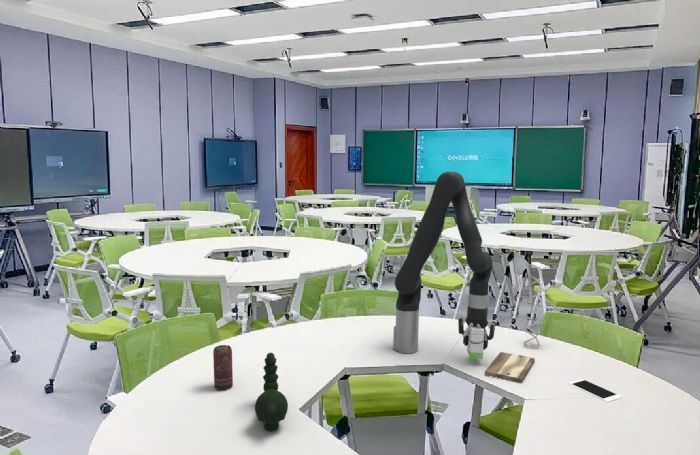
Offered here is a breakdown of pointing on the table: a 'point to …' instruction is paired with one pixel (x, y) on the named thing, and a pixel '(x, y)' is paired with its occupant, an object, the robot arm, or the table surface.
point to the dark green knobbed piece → (271, 398)
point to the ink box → (475, 343)
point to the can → (223, 367)
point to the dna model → (534, 310)
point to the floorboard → (510, 367)
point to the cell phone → (595, 390)
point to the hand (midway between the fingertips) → (475, 347)
